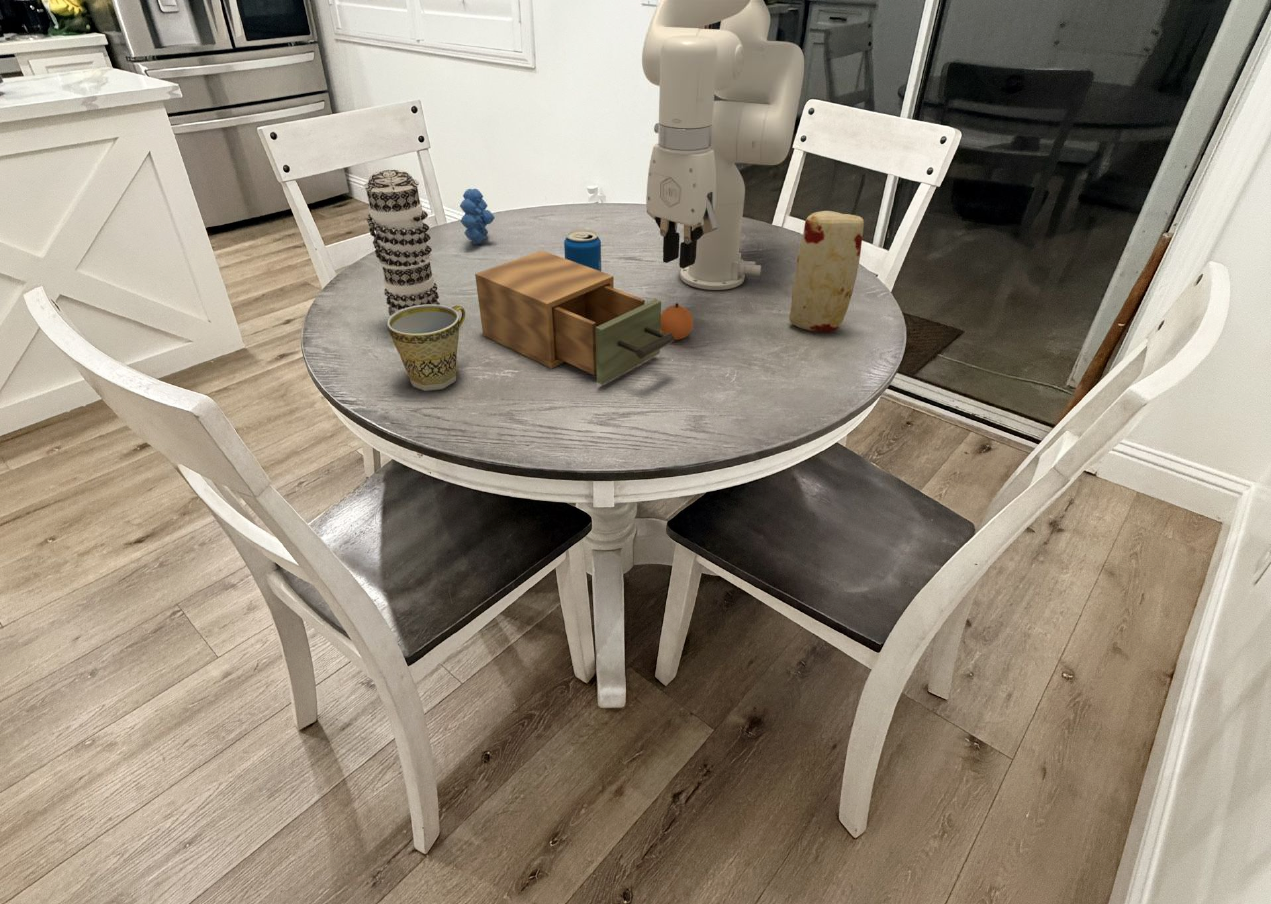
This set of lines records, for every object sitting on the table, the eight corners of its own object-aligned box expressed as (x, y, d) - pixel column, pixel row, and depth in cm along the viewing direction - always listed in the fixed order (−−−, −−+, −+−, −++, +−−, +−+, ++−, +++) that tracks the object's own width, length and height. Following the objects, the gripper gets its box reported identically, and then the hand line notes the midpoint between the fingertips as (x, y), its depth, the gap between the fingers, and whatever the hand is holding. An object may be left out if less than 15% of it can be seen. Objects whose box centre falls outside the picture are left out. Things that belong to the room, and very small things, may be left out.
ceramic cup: (434, 404, 100) (422, 340, 94) (385, 384, 105) (371, 323, 99) (495, 366, 109) (487, 306, 103) (447, 350, 114) (438, 291, 108)
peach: (694, 332, 120) (696, 298, 116) (689, 347, 115) (691, 312, 112) (661, 329, 120) (662, 295, 117) (656, 343, 116) (657, 309, 112)
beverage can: (597, 307, 127) (595, 242, 120) (562, 304, 128) (559, 239, 121) (605, 293, 132) (604, 230, 125) (572, 290, 133) (569, 227, 126)
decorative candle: (427, 309, 126) (401, 162, 111) (455, 326, 121) (432, 174, 106) (380, 325, 121) (346, 173, 106) (407, 343, 115) (376, 186, 101)
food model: (786, 333, 119) (804, 215, 108) (788, 317, 125) (805, 202, 113) (845, 339, 118) (869, 220, 106) (844, 322, 123) (868, 207, 111)
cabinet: (614, 337, 118) (613, 276, 111) (551, 368, 109) (547, 303, 103) (545, 308, 127) (541, 250, 120) (482, 335, 118) (474, 273, 112)
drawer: (685, 364, 108) (688, 311, 103) (628, 397, 101) (629, 341, 95) (589, 324, 120) (587, 274, 114) (531, 351, 112) (526, 298, 106)
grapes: (489, 254, 148) (482, 196, 141) (458, 252, 149) (450, 194, 141) (505, 236, 157) (499, 180, 150) (475, 234, 158) (468, 179, 151)
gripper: (624, 132, 101) (624, 256, 112) (715, 152, 93) (705, 284, 104) (658, 124, 106) (654, 244, 117) (747, 142, 97) (735, 269, 108)
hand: (678, 262), depth 110 cm, fingers closed
